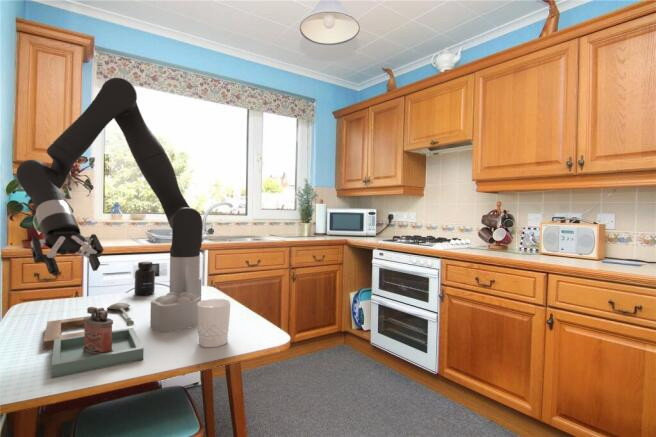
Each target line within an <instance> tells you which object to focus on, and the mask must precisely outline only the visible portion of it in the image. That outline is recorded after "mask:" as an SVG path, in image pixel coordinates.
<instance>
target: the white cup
mask: <svg viewBox="0 0 656 437" xmlns="http://www.w3.org/2000/svg"><path fill="white" fill-rule="evenodd" d="M230 313H231V300H228V299H223V298H210V299H204V300H201V301H200V302H198V303H197V315H198V325H197V333H198V344H199V346H200V347H204V348H217V347H222V346H224V345H225V344H227V343H228V340H229V339H228V337H229V336H228V334H229V330H230V329H229V328H230V327H229V325H230V316H231V314H230Z"/></svg>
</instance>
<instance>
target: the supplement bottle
mask: <svg viewBox="0 0 656 437" xmlns="http://www.w3.org/2000/svg"><path fill="white" fill-rule="evenodd" d="M137 268H138V269H136V270H135V272H134V289H133V290H134V295H135V296H139V297H142V296H143V297H144V296H150V295H154V294H155V288H156V287H155V284H156V282H155V281H156V271H155V269H153V262H152V261H139V262H138V264H137Z"/></svg>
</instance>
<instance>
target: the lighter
mask: <svg viewBox="0 0 656 437" xmlns="http://www.w3.org/2000/svg"><path fill="white" fill-rule="evenodd" d="M86 310H87V312H86V313H87V314H90V315H87V316H88V317H87V316H84V317H85V318H84V322H85V327H84V332H85V334H84V347H83V351H84V352H85V353H87V354H89V355H92V356H93V355H99V354H104V353H110V352H113V349H112V331H113V327H112V326H113V325H114V320H113V319H111V318H108V316H109V313H108V312H109V311H108V310H105V308H104V307H99V308H98V307H95V306H89V307H88V308H86Z"/></svg>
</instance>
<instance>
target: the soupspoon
mask: <svg viewBox="0 0 656 437" xmlns="http://www.w3.org/2000/svg"><path fill="white" fill-rule="evenodd" d="M129 307H131V304H129V303H126V302H116V303H113V304H111V305H109V306H108V307H106V309H107V310H110V309H113V310H116V311H117V310H118V311H121V312H122V313H123V314H124V316H125V317H126V318H127V319H126V320H127V321H126V325H127V326H132V325H134V323H135V322H134V320H132V319H131V317H130V316H129V314H128V312H127V311H126V310H125V309H127V308H129Z"/></svg>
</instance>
